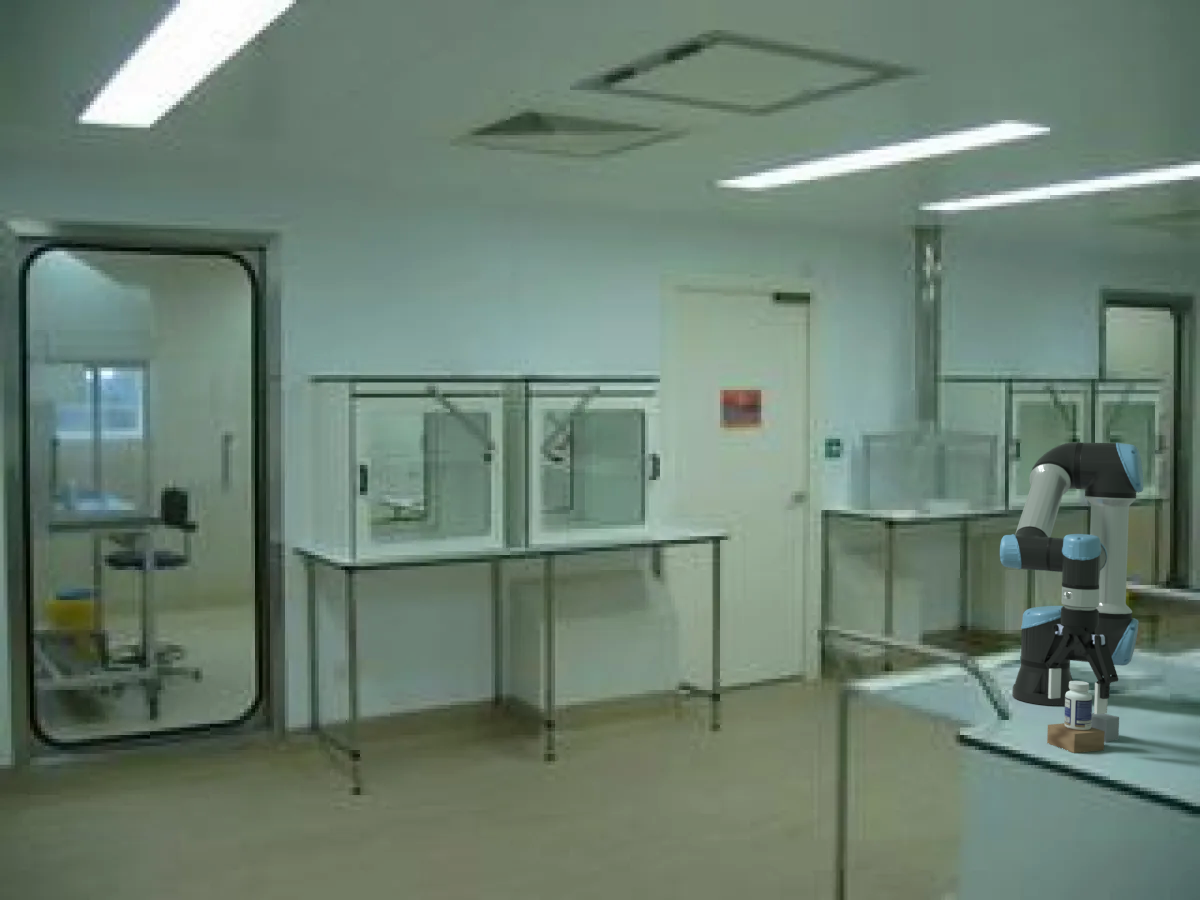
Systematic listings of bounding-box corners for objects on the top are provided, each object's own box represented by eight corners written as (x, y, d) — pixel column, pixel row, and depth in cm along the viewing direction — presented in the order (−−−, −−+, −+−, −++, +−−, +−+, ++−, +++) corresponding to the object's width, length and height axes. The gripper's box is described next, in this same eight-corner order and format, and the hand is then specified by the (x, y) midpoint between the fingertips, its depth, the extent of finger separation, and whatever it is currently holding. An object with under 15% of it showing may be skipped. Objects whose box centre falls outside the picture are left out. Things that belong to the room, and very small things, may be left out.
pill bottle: (1094, 727, 258) (1096, 682, 257) (1085, 732, 254) (1087, 686, 253) (1069, 723, 261) (1071, 678, 261) (1060, 727, 257) (1061, 682, 257)
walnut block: (1047, 743, 260) (1047, 724, 260) (1076, 740, 263) (1077, 722, 262) (1074, 753, 252) (1074, 734, 252) (1103, 750, 255) (1104, 731, 255)
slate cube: (1084, 737, 266) (1085, 715, 265) (1097, 734, 269) (1098, 712, 268) (1105, 742, 262) (1106, 719, 261) (1118, 739, 264) (1119, 716, 264)
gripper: (1025, 598, 267) (1022, 693, 268) (1110, 618, 244) (1106, 721, 244) (1052, 597, 270) (1049, 690, 270) (1138, 616, 246) (1135, 718, 247)
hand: (1076, 705), depth 257 cm, fingers open, 13 cm apart
